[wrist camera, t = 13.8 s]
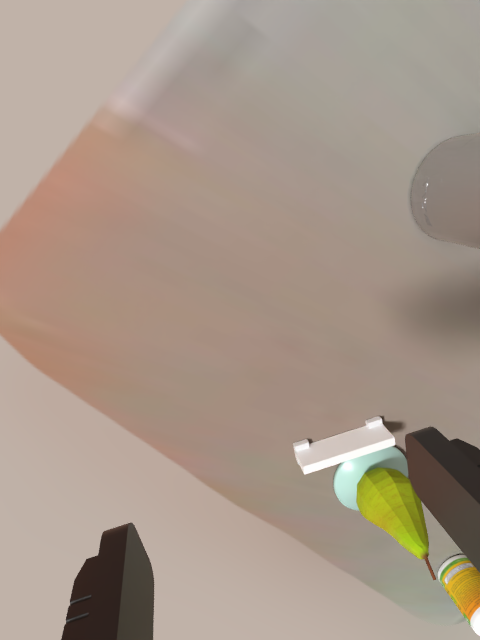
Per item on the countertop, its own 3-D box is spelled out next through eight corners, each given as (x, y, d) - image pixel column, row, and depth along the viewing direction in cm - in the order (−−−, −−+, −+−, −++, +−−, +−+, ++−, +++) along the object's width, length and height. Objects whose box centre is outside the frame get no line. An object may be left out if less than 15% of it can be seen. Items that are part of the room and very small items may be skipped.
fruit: (399, 449, 45) (476, 537, 34) (398, 492, 47) (471, 588, 36) (346, 462, 45) (407, 556, 33) (347, 505, 47) (405, 607, 36)
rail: (379, 415, 44) (393, 431, 41) (381, 433, 45) (395, 450, 42) (292, 443, 43) (301, 461, 40) (296, 460, 44) (305, 479, 41)
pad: (402, 432, 45) (405, 435, 45) (408, 492, 49) (411, 496, 48) (327, 456, 45) (329, 460, 44) (338, 516, 48) (341, 520, 47)
